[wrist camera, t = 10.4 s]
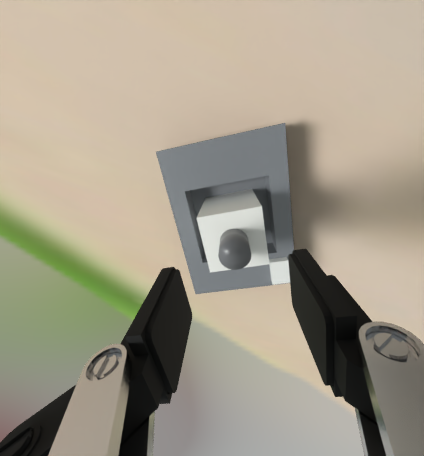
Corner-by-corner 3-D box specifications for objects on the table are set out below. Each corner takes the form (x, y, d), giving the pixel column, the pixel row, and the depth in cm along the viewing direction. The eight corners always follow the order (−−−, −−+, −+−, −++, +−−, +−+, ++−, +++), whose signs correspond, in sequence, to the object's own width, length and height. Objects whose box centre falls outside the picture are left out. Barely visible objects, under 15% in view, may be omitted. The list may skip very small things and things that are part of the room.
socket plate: (277, 126, 17) (287, 121, 14) (289, 268, 22) (298, 286, 19) (164, 151, 19) (153, 151, 16) (198, 279, 23) (194, 298, 21)
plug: (251, 188, 19) (267, 215, 11) (258, 232, 20) (275, 281, 13) (205, 197, 20) (191, 228, 12) (215, 239, 21) (207, 289, 14)
